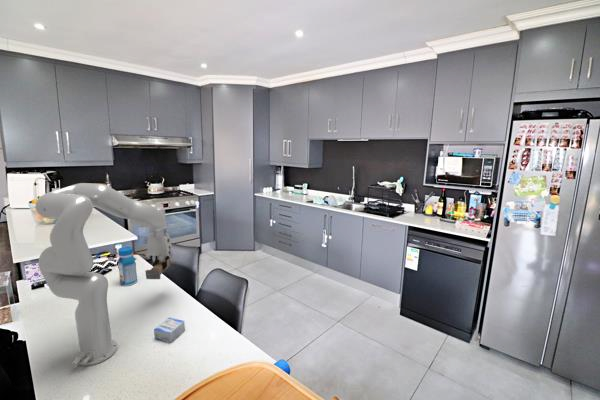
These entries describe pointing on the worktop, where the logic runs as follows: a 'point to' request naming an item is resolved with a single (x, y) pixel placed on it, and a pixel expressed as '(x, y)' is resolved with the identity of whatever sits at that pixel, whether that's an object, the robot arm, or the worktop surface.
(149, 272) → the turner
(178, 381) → the worktop surface
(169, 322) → the medicine box
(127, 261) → the beverage bottle
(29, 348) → the worktop surface
